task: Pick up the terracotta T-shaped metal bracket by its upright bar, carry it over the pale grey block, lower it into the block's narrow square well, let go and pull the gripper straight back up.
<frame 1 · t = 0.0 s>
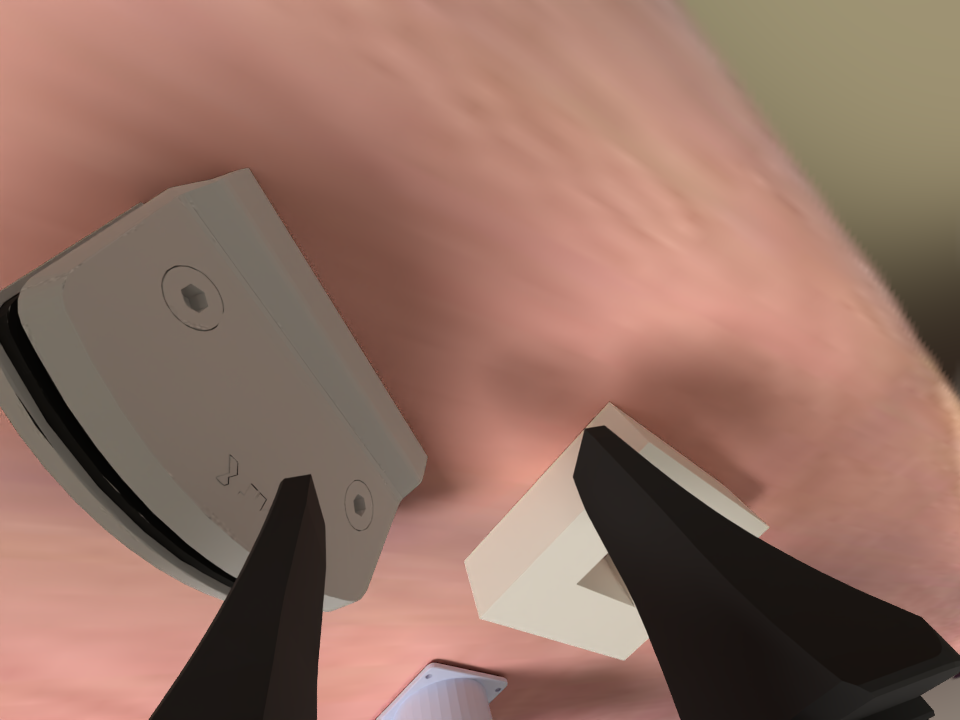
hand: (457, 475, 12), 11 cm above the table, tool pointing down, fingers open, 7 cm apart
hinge: (279, 373, 21), on the table
well block: (602, 521, 31), on the table
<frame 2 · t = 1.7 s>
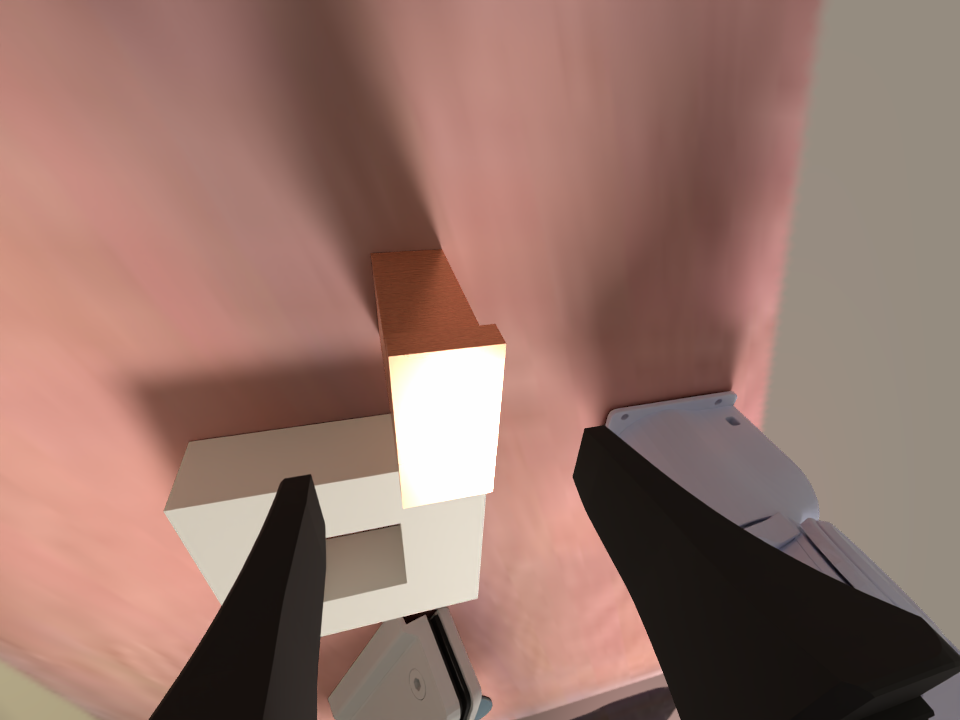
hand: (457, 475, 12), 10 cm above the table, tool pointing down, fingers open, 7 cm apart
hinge: (397, 651, 41), on the table
well block: (355, 504, 27), on the table
cocktail glass: (449, 714, 54), on the table
bracket: (409, 293, 20), on the table
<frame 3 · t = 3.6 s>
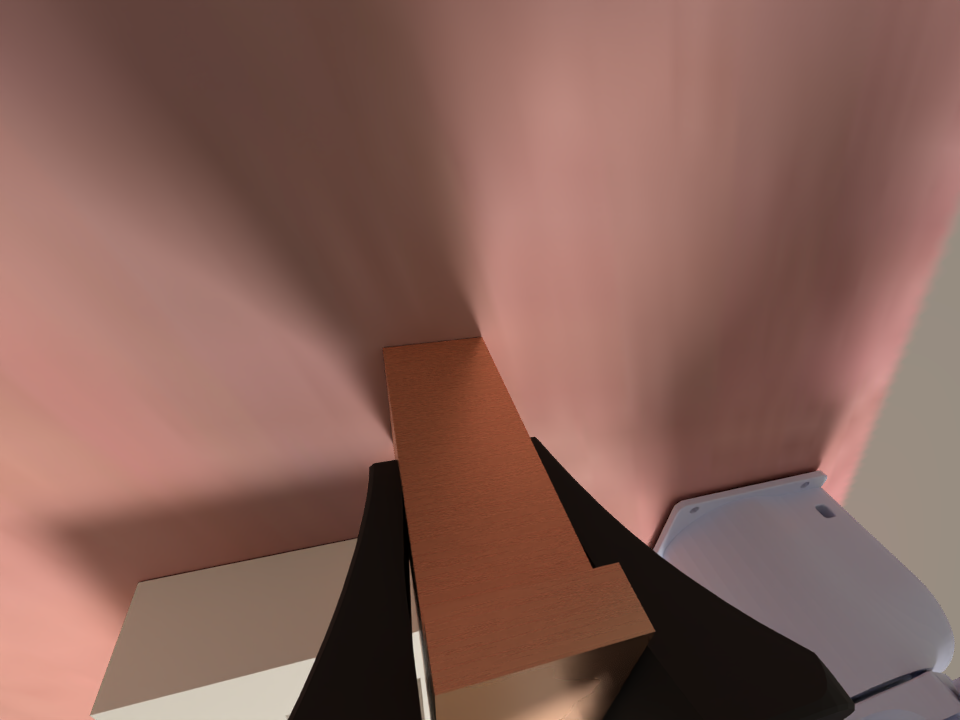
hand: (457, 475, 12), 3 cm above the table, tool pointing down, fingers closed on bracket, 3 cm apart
well block: (360, 623, 22), on the table
bracket: (434, 393, 14), on the table, touching gripper
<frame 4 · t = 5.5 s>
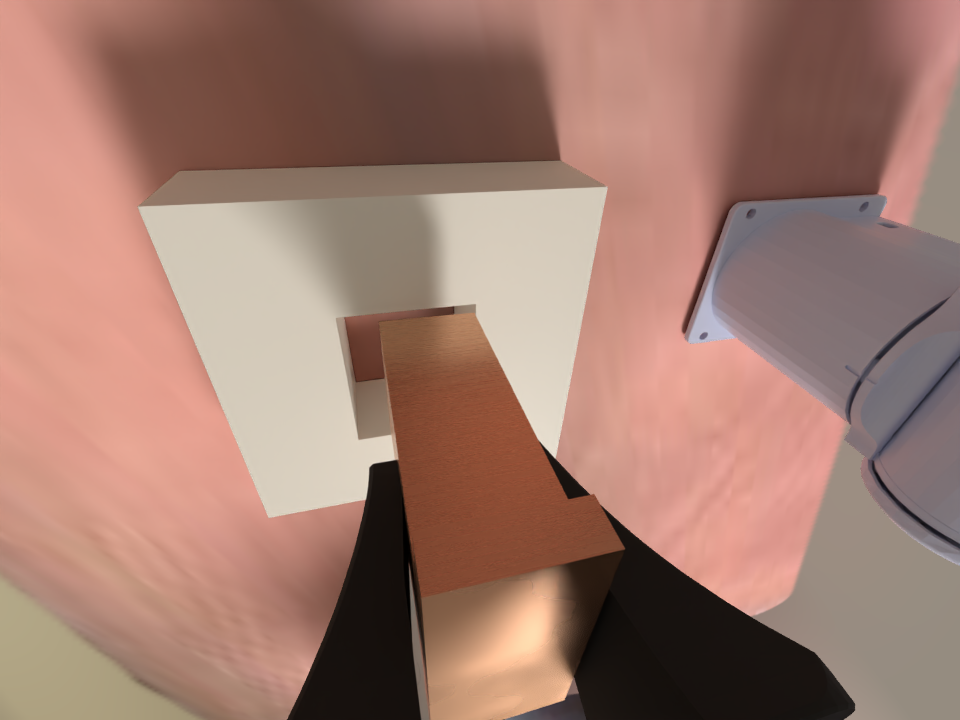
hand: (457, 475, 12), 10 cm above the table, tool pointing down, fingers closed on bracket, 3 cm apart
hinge: (441, 568, 35), on the table
well block: (401, 325, 21), on the table
bracket: (429, 368, 15), point 6 cm above the table, touching gripper
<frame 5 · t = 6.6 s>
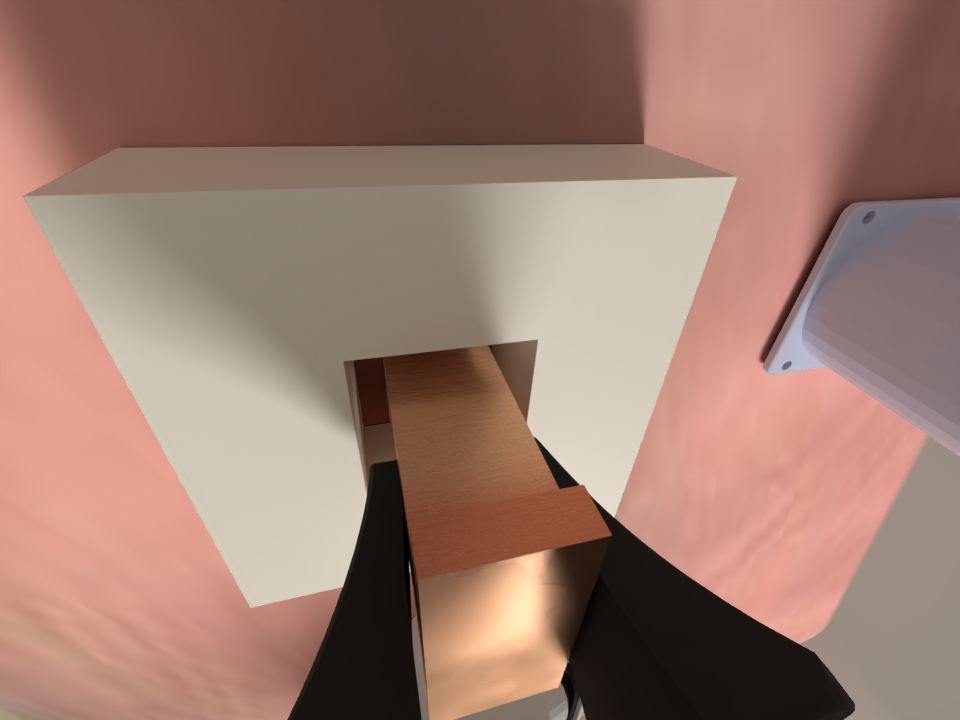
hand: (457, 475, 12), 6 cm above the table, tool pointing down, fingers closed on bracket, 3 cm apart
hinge: (457, 622, 30), on the table
well block: (425, 356, 16), on the table
bracket: (428, 367, 15), point 1 cm above the table, touching gripper
when the fingers open (5 cm above the table, at t = 7.3 s): bracket stays where it is, resting in well block.
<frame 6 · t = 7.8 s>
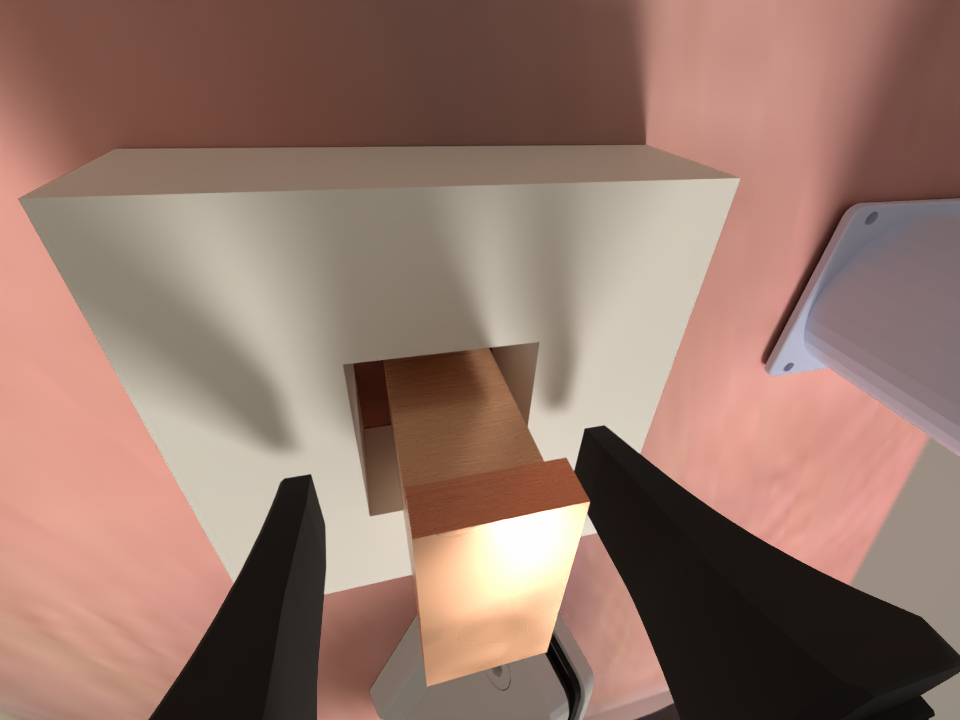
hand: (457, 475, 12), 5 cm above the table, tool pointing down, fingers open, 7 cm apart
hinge: (458, 623, 30), on the table
well block: (425, 358, 16), on the table
bracket: (425, 355, 16), resting in well block
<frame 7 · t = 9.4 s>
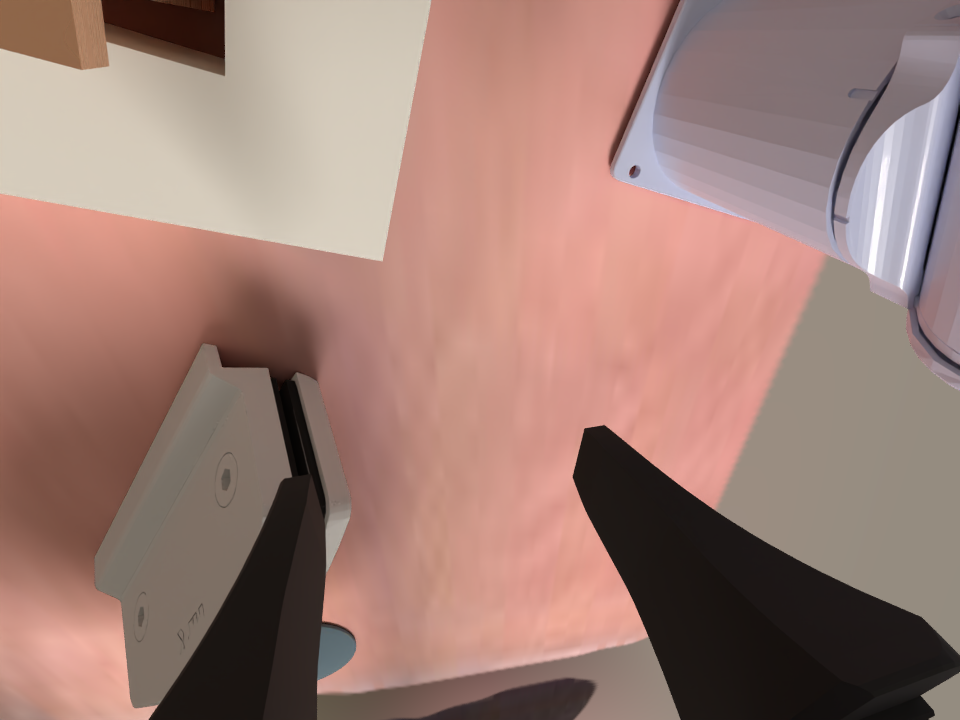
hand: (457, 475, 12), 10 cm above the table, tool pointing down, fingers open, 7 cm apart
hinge: (227, 476, 24), on the table
cocktail glass: (287, 654, 36), on the table
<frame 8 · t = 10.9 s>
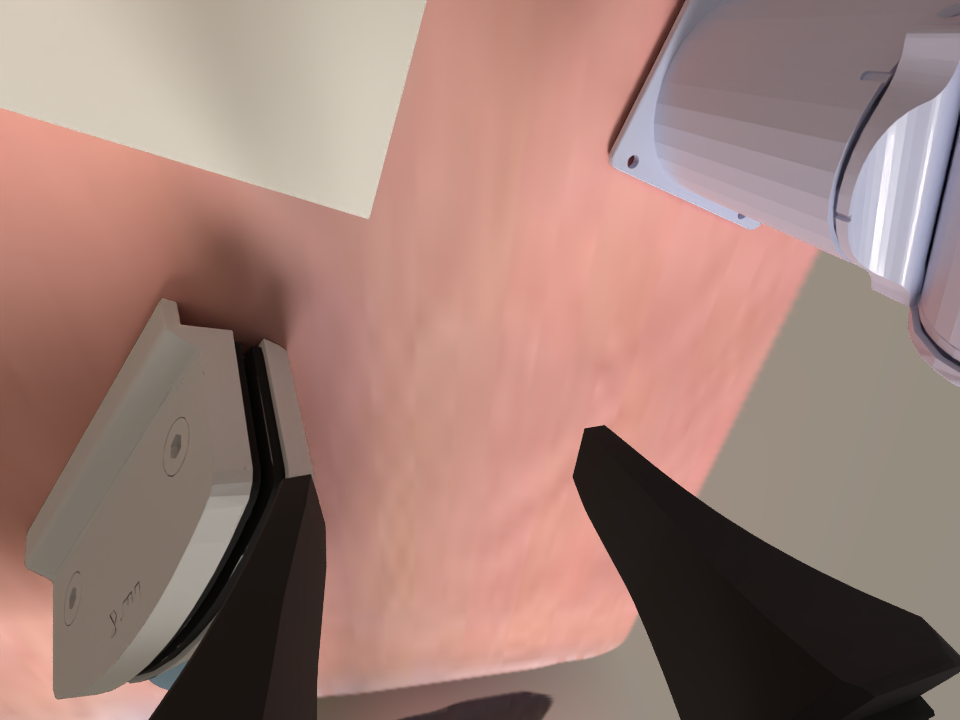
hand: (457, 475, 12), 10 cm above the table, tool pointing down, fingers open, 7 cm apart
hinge: (182, 451, 22), on the table
cocktail glass: (231, 653, 34), on the table
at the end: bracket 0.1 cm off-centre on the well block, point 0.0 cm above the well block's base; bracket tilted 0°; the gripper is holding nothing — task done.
